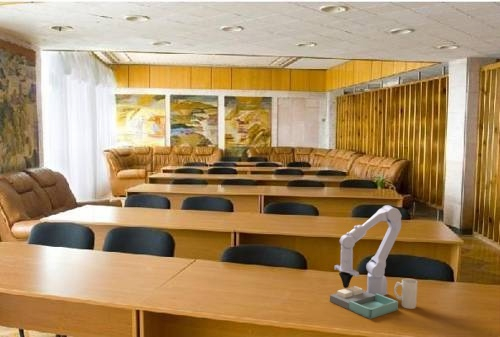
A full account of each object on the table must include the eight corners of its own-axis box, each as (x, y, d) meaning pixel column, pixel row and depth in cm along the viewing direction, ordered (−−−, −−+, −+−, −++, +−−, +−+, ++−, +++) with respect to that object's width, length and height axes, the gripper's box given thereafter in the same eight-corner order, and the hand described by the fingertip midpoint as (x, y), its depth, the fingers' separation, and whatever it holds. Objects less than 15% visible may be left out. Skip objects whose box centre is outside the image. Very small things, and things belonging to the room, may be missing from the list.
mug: (416, 304, 218) (417, 279, 217) (416, 309, 212) (417, 283, 211) (393, 301, 222) (394, 276, 221) (393, 307, 215) (394, 281, 214)
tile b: (344, 292, 225) (344, 288, 225) (352, 295, 221) (352, 291, 221) (336, 294, 222) (337, 290, 222) (344, 298, 218) (344, 293, 218)
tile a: (354, 290, 229) (355, 286, 229) (362, 293, 225) (362, 288, 224) (347, 292, 226) (347, 287, 226) (355, 295, 222) (355, 290, 222)
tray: (376, 301, 222) (376, 293, 221) (397, 310, 212) (398, 301, 211) (349, 309, 212) (349, 301, 211) (370, 319, 202) (370, 309, 201)
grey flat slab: (356, 293, 232) (357, 288, 232) (375, 301, 222) (376, 295, 222) (329, 301, 222) (330, 295, 222) (348, 309, 212) (348, 303, 212)
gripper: (330, 257, 233) (329, 284, 234) (351, 264, 221) (351, 293, 222) (340, 255, 237) (339, 282, 238) (362, 262, 225) (361, 290, 226)
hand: (345, 287), depth 230 cm, fingers closed
